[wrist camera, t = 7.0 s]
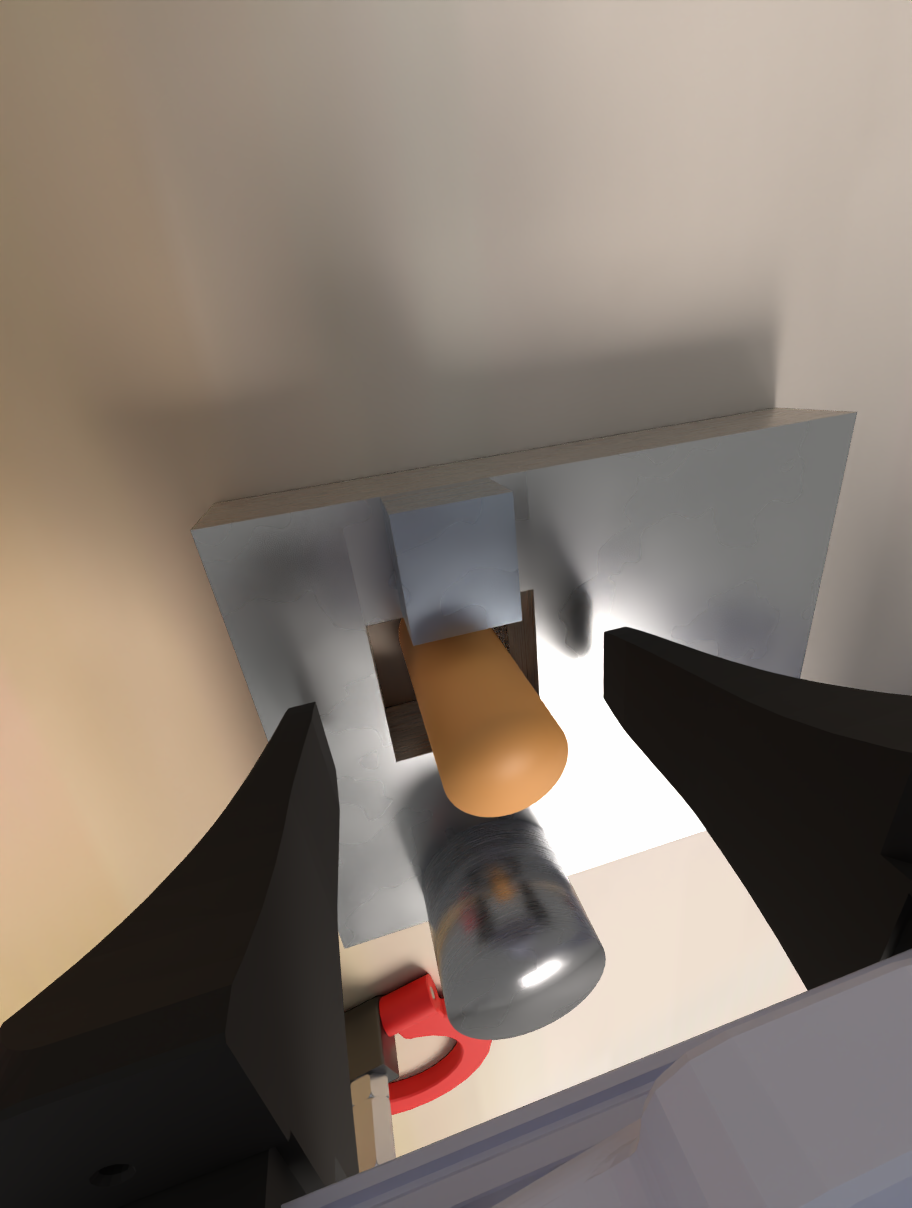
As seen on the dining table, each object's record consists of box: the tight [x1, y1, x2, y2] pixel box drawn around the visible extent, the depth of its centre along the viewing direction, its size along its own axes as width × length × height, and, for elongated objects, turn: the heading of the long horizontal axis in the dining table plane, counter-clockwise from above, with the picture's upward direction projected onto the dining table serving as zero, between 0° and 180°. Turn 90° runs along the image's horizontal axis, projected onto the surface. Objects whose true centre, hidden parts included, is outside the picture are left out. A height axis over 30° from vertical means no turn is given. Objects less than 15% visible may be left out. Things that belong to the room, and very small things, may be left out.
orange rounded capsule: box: [398, 618, 569, 817], centre depth 12 cm, size 3×3×6 cm
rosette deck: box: [191, 408, 857, 1040], centre depth 14 cm, size 16×15×6 cm
